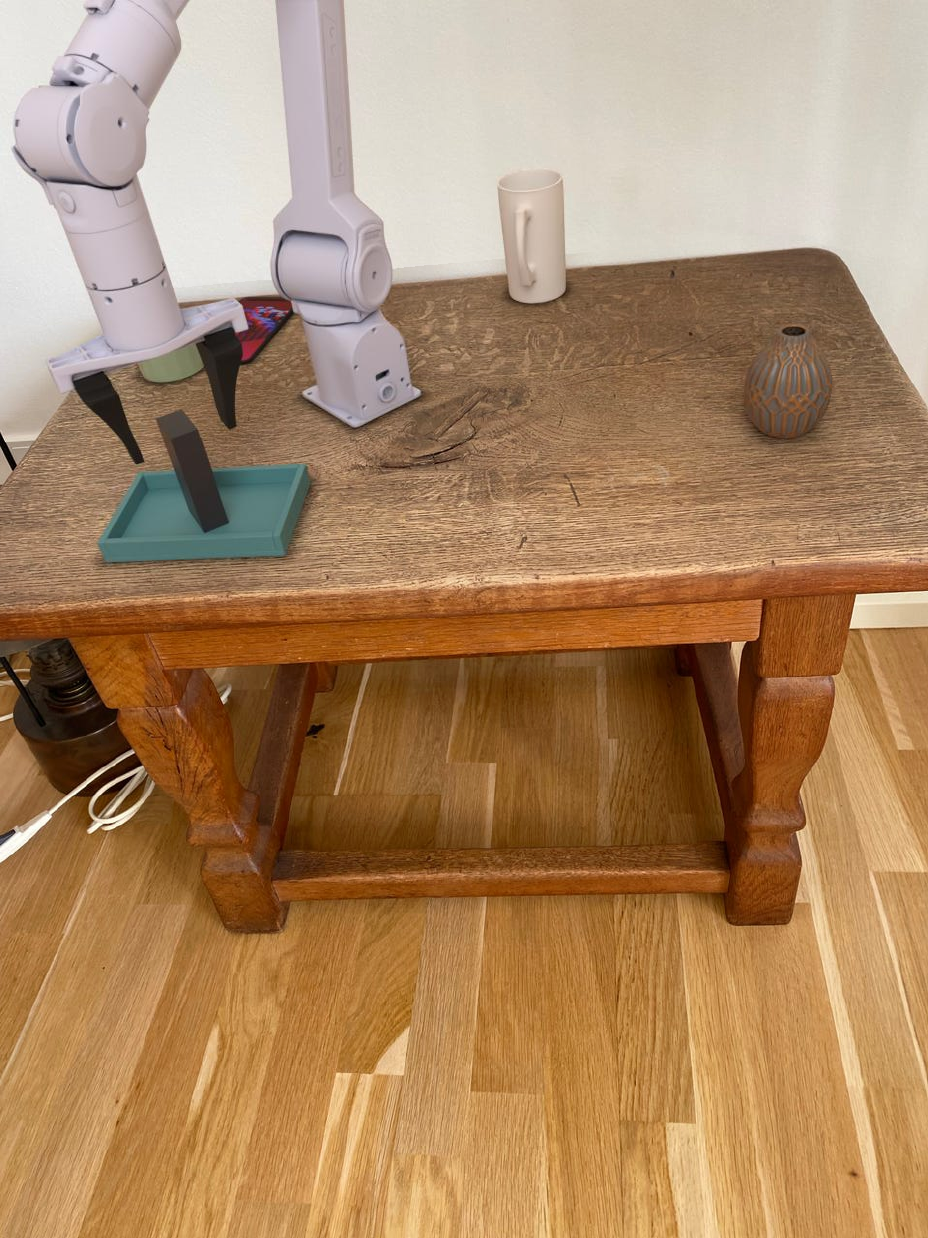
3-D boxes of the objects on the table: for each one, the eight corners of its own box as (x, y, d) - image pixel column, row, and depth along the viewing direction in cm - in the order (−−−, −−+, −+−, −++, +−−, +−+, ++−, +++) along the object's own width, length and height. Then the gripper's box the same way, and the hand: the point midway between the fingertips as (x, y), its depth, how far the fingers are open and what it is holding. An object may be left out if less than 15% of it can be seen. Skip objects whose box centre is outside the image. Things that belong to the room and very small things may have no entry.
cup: (219, 363, 107) (208, 328, 104) (159, 389, 104) (147, 353, 101) (189, 344, 111) (178, 310, 109) (131, 368, 108) (118, 334, 106)
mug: (514, 278, 114) (505, 168, 106) (573, 278, 112) (568, 166, 104) (493, 318, 107) (481, 204, 99) (556, 319, 105) (549, 202, 97)
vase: (735, 408, 88) (741, 314, 83) (816, 401, 88) (828, 306, 82) (749, 451, 83) (757, 354, 77) (835, 444, 83) (849, 346, 77)
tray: (311, 482, 87) (306, 462, 86) (285, 555, 80) (279, 535, 79) (145, 490, 90) (138, 471, 88) (105, 562, 82) (96, 543, 81)
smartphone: (183, 359, 108) (242, 295, 118) (186, 367, 108) (244, 303, 119) (249, 361, 106) (303, 296, 116) (251, 369, 106) (304, 304, 116)
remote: (215, 500, 86) (184, 407, 80) (231, 522, 83) (200, 427, 78) (189, 511, 85) (155, 418, 79) (204, 533, 83) (170, 439, 77)
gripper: (203, 228, 76) (250, 390, 85) (11, 287, 71) (81, 452, 80) (236, 255, 71) (282, 423, 80) (31, 320, 66) (104, 491, 75)
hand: (183, 440), depth 80 cm, fingers open, 7 cm apart
